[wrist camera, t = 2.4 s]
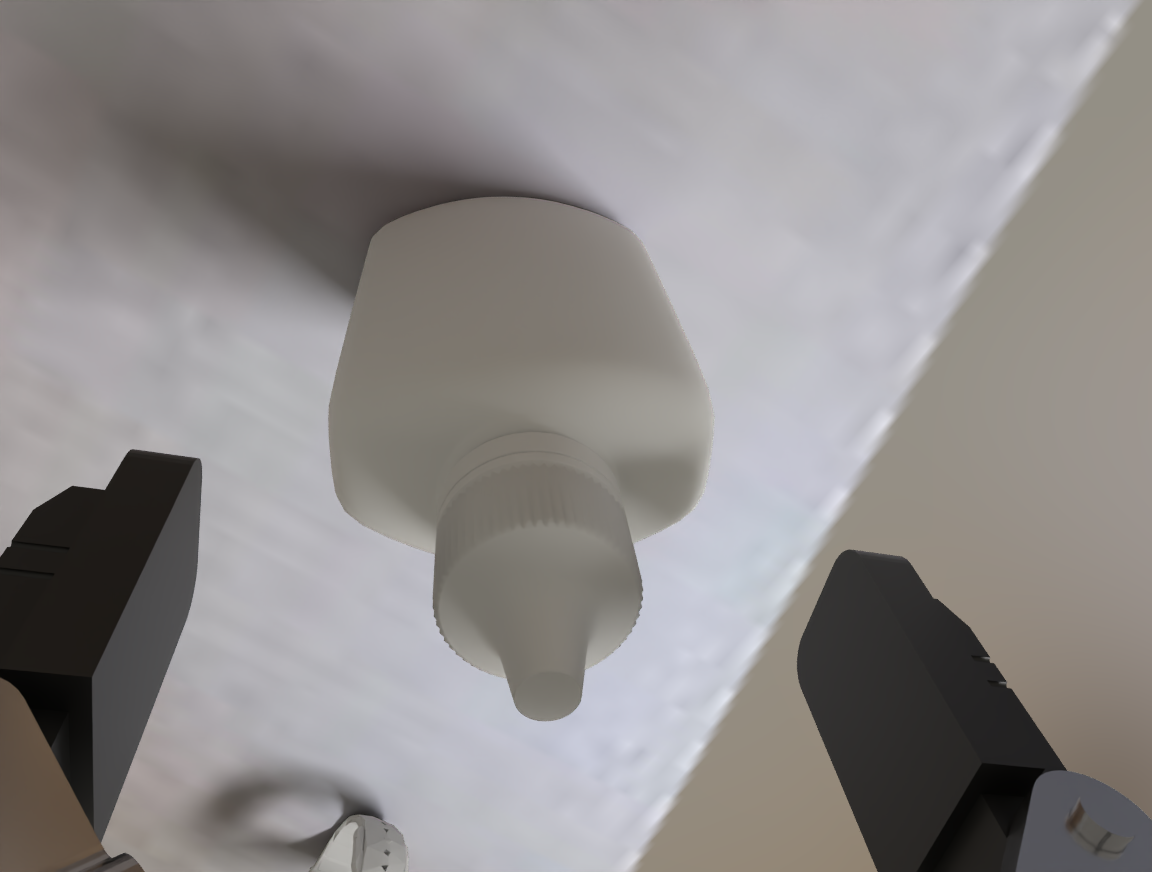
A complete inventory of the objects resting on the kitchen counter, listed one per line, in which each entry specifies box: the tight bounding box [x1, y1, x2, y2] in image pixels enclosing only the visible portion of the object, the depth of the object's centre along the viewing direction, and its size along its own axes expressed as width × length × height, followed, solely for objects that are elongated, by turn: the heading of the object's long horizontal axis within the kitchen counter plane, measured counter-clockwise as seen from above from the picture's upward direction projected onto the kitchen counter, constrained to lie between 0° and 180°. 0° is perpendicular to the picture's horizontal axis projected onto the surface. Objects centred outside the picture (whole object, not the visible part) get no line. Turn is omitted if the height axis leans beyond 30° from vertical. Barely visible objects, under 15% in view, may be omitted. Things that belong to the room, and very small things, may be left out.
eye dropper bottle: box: [328, 197, 715, 721], centre depth 15 cm, size 4×6×12 cm
